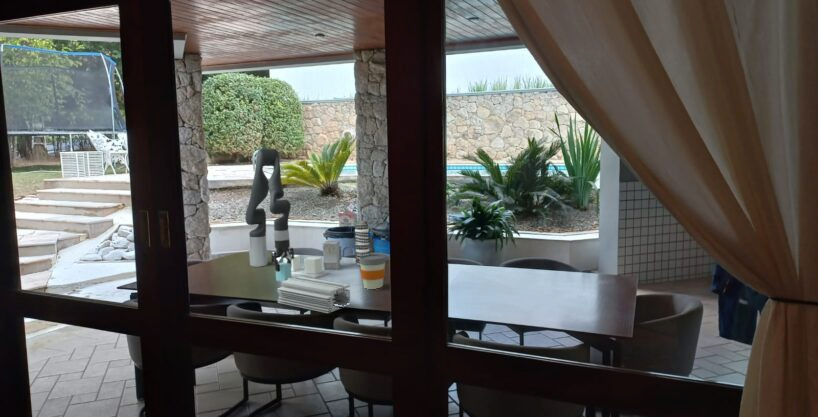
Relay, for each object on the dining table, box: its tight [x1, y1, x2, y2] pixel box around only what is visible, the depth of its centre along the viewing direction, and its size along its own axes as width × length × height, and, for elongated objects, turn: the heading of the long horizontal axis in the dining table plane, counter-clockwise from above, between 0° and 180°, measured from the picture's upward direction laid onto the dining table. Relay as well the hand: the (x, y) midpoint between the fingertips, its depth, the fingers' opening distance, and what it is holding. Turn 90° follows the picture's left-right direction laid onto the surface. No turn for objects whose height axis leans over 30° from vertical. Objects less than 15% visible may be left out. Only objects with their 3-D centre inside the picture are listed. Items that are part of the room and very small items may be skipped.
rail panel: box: [282, 254, 330, 279], centre depth 304 cm, size 26×12×9 cm, turn 60°
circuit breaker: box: [322, 240, 343, 271], centre depth 317 cm, size 8×14×15 cm, turn 174°
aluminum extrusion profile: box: [276, 276, 351, 314], centre depth 247 cm, size 14×31×10 cm, turn 55°
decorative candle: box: [353, 219, 371, 266], centre depth 324 cm, size 9×9×25 cm
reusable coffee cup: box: [359, 253, 387, 290], centre depth 271 cm, size 13×13×15 cm
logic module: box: [275, 262, 292, 282], centre depth 291 cm, size 6×5×8 cm
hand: (283, 269), depth 291 cm, fingers open, 8 cm apart
